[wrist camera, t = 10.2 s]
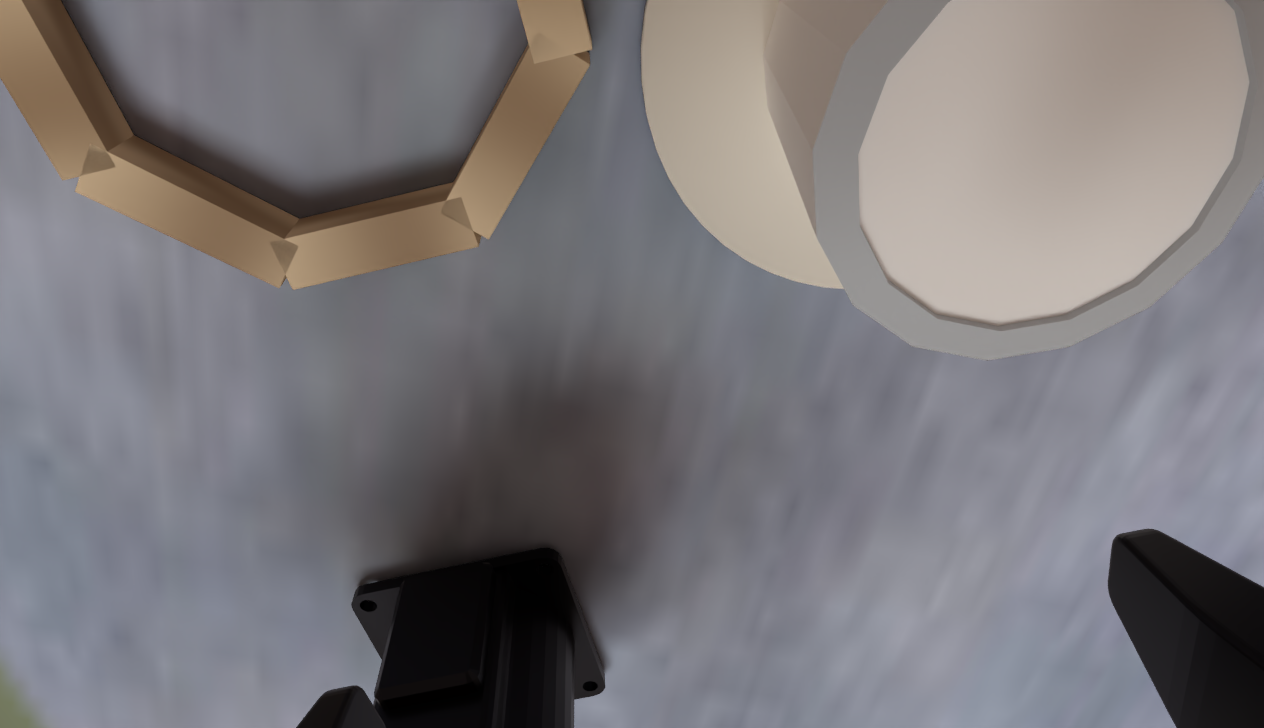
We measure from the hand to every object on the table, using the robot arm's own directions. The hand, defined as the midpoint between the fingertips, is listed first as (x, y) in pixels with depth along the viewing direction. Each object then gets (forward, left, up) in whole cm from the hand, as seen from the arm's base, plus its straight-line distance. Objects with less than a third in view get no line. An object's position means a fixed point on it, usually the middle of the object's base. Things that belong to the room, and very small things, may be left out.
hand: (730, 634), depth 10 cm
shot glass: (+3, -6, -12) cm, 14 cm away
